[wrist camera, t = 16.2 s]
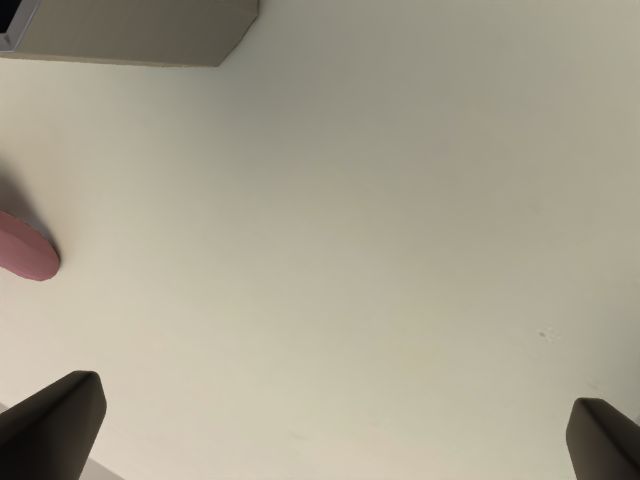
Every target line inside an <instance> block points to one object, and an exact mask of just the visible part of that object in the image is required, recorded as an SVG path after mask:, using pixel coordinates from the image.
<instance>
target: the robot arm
mask: <svg viewBox="0 0 640 480" xmlns="http://www.w3.org/2000/svg"><path fill="white" fill-rule="evenodd" d="M106 408H107V403H106V399H105V395H104V391H103V388H102V384H101V380H100V377H99V375H98V374H97V373H96V372H94V371H81V370H78V371H73V372H72V373H70V374H68V375H66V376H65V377H63V378H61V379H59V380H58V381H56V382H54V383H53V384H51V385H49V386H47V387H46V388H44V389H42V390H41V391H39V392H37V393H36V394H34V395H32V396H30V397H29V398H27V399H25V400H24V401H22V402H20V403H18V404H17V405H15V406H13V407H12V408H10V409H8V410H6V411H5V412H3V413H1V414H0V480H79V478H80V475H81V473H82V470H83V467H84V465H85V463H86V460H87V458H88V456H89V453H90V451H91V448H92V446H93V444H94V441H95V439H96V436H97V434H98V431H99V429H100V427H101V424H102V422H103V419H104V417H105V414H106ZM566 442H567V446H568V450H569V453H570V457H571V460H572V464H573V467H574V471H575V474H576V478H577V480H640V427H639V426H638V425H637V424H635V423H634V422H633V421H631V420H630V419H629V418H627V417H626V416H625V415H623V414H622V413H621V412H619V411H618V410H617V409H615V408H614V407H613V406H611V405H610V404H609V403H607V402H606V401H604V400H602V399H599V398H578V399H577V400H576V401H575V403H574V405H573V409H572V412H571V415H570V419H569V422H568V426H567V429H566Z"/></svg>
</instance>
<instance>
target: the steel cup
mask: <svg viewBox="0 0 640 480" xmlns="http://www.w3.org/2000/svg"><path fill="white" fill-rule="evenodd" d="M257 14H258V0H0V58H12V59H30V60H47V61H64V62H82V63H99V64H116V65H134V66H151V67H217V66H219V65H220V63H221V62H222V61H223V59H224V58H225V57H226V56H227V54H228V53H229V52H230V51H231V50H232V49H233V48H234V47H235V46H236V45H237V44H238V43H239V42H240V40H241V39H242V37H243V36H244V34H245V33H246V31H247V29H248V27H249V26H250V24H251V23H252V22H253V20H254V19H255V18H256V17H257Z"/></svg>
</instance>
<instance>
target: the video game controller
mask: <svg viewBox="0 0 640 480" xmlns="http://www.w3.org/2000/svg"><path fill="white" fill-rule="evenodd" d="M0 266H1V267H3V268H5V269H7V270H9V271H11V272H13V273H15V274H17V275H18V276H20V277H23V278H26V279H31V280H36V281H44V280H47V279H50V278H52V277H53V276H55V275H56V273H57V272H58V270H59V266H60V264H59V259H58V257H57V254H56V252H55V251H54V249H53V248H52V246H51V245H50V243H49V242H48V241H47V240H46V239H45V238H44V237H43V236H42V235H41V234H40V233H39V232H38V231H36V230H35V229H33V228H32V227H31V226H29V225H28V224H26V223H24V222H23V221H21V220H19V219H17V218H16V217H14V216H12V215H10V214H8V213H5V212H3V211H1V210H0Z"/></svg>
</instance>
